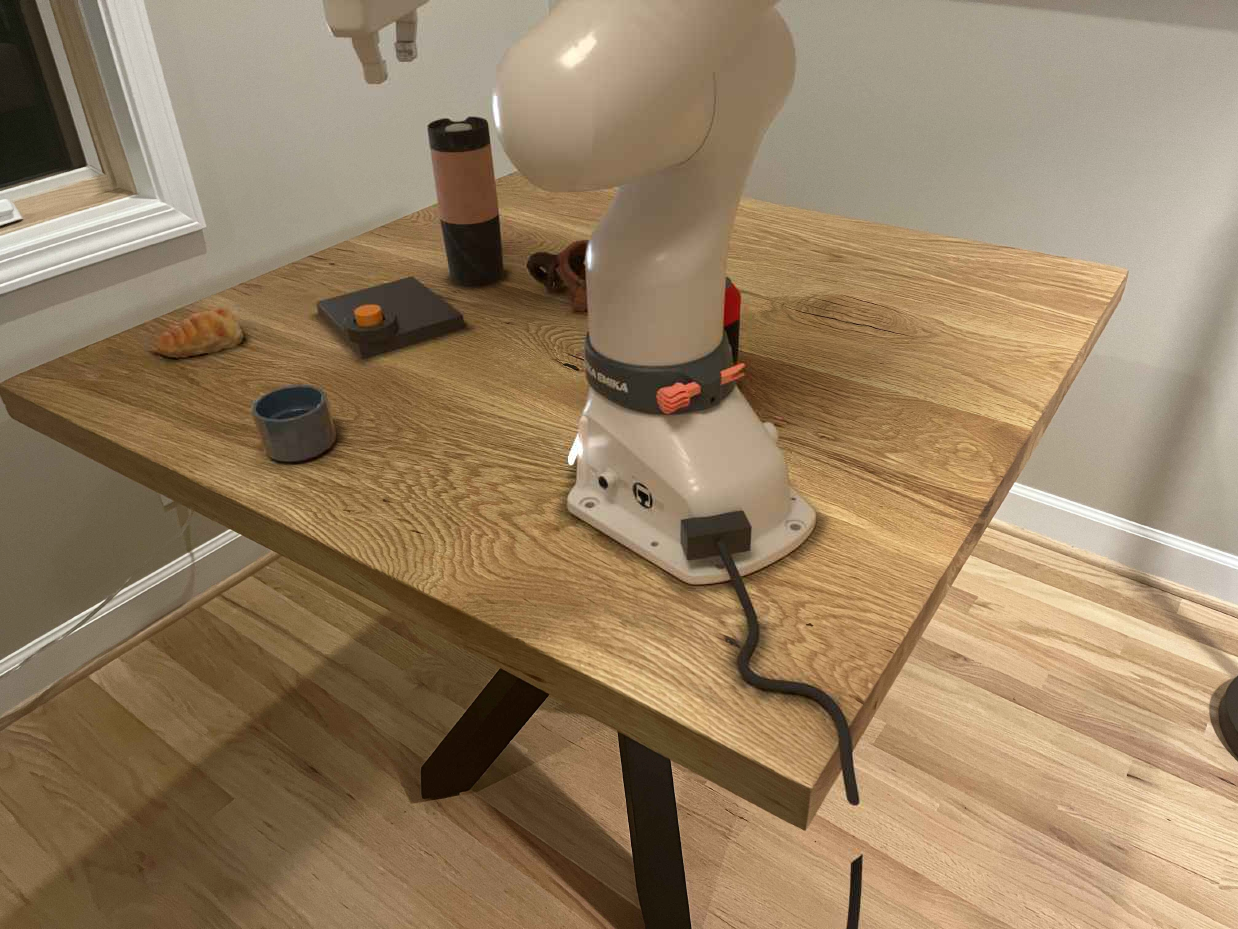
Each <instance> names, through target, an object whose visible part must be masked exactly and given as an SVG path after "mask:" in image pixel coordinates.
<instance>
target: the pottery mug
mask: <svg viewBox="0 0 1238 929" xmlns="http://www.w3.org/2000/svg"><path fill="white" fill-rule="evenodd" d="M588 241H589V239H581V240H577V241H574V242H572V243H570V244H569V245H567V246H566V247H565V249H564V250H562V251H560V253H557V254H554V253H550V252H547V251H538V252H537V251H536V252H534V253H533V254H531V255H530V256H529V257H528V260H527V262H526V265H525V266H526V269H527V270H528V273H529V274H530V276H531V277H532V278H533V279H534V280H535V281H536V282H537V283H539V284H541V285H543V286H544V288H545V289H546V291H547V292H548V293H550V294H551V293H552V292H553V289H555V290H556V291H558V290H559V289H560V288H561V287H562V286H563V285H564V284H565V285H566V287H567V288H568V289H569V290H570V291H572V292H573V293H574V294H575V295H574V298H573V301H572V303H571V307H572V310H575V311H578V312H580V313H584V312H585V311H586V310H588V305H587V287H586V286H583V285H582V284H580V282H579V281H582V282H586V270H585V254H586V248H587V244H588Z"/></svg>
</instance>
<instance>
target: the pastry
mask: <svg viewBox="0 0 1238 929" xmlns="http://www.w3.org/2000/svg"><path fill="white" fill-rule="evenodd" d="M243 338H244V334H243V331H242V329H241V327H240V324H239V323H238V321H237V320H236V318H235V317H234V315H233V312H232V311H231V309H229V307H228V306H222V305H219V306H217V308H216V309H214V310H213V309H212V310H204V311H201V312H195V313H192V314H191V315H189V316H188V317H187V318H186V319H183V320H181V321H180V322H179V323H178V324H173V325H171V326H170V327H169V328H168V329H167V330H164V331H163V332H162V333H159V335H158V336H157V338H156V340H155V348H156V351H157V353H158V354H160V355H163V356H165V357H167V358H168V357H169V358H176V359H177V360H178V359H179V358H182V359H186V358H187V357H191V356H197V357H198V356H200V355H205V354H211V353H216V352H219V351H220V350H222V349H229V348H233V347H235V346H237V345H239V344H241V343H242V342H243Z"/></svg>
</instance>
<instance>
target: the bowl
mask: <svg viewBox="0 0 1238 929" xmlns="http://www.w3.org/2000/svg"><path fill="white" fill-rule="evenodd" d="M250 410H251V415H252V418H253V421H254V425H255V427H256V431H257V434H258V438H259V440H260V443H261V444H260V445H261V446H262V451H263V452H264V453H265V455H266V457H268V458H270V459H273V460H275V461H278V462H286V463H298V462H305V461H308V460H311V459H314V458H316V457H318V456H320V455H323V453H325V452H326V451H327V450H328V449H330V448H331V447H332V446H333V444H334V443H335V442H336V438H337V437H336V436H337V432H336V427H335V424H334V419H333V416H332V412H331V408H330V402H329V400H328V396H327V393H326V392H325V391H324V390H323V389H322V388H320V387H318V386H315V385H312V384H311V385H310V384H293V385H284V386H281V387H278V388H275V389H272V390H270V391H268V392H266V393H264V394H263V395H261V396H259V397H258V398H257V399H256V400H255V401H254V402H253V403H252V406H251V409H250Z"/></svg>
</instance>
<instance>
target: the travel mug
mask: <svg viewBox="0 0 1238 929" xmlns="http://www.w3.org/2000/svg"><path fill="white" fill-rule="evenodd" d="M427 136H428V142H429V149H430V150H429V152H430V157H431V165H432V172H433V178H434V186H435V192H436V193H435V194H436V200H437V207H438V215H439V221H440V227H441V233H442V237H443V243H444V244H443V245H444V248H445V249H444V250H445V254H446V260H447V265H448V270H449V275H450V280H451V282H452V283H453V284H454V285H457V286H459V287H460V286H461V287H466V288H477V287H478V288H479V287H486V286H489V285H493V284H495V283H498V282H499V281H501V280H502V279H503V277H504V259H503V258H504V257H503V247H502V234H501V221H500V210H499V200H498V194H497V193H498V192H497V185H496V177H495V176H496V175H495V169H494V160H493V152H492V143H491V136H490V127H489V122H488V120H487V119H485V118H484V117H479V116H468V117H466V119H464V120H459V121H457V120H455V121H454V120H451V119H450V118H448V117H444V118H440V119H436V120H433V121H431V122H430V123H428V124H427Z"/></svg>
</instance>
